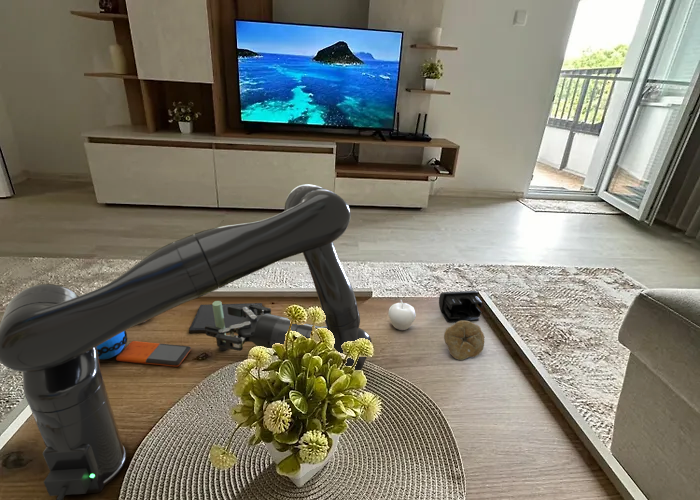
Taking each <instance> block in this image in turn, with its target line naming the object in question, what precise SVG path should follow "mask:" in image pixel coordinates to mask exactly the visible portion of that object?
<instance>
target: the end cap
mask: <svg viewBox="0 0 700 500" xmlns="http://www.w3.org/2000/svg"><path fill="white" fill-rule="evenodd" d="M438 306H439V310H440V312H441V315H442V316H443V318H444V319H445V321H446V322H447V323H448V324H449V323H450V324H451V323H453V324H454V323H456V322H458V321H470V322H478V321H479V319H480V318H479V317H481V314H482V311H481V310H480V308H481V309H482V308H483V302H482V300H481V299H480V298H479V292H478V291H477V290H462V291H460V290H459V291H443V292H441V293H440V294H439V296H438Z"/></svg>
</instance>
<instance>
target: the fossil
mask: <svg viewBox="0 0 700 500" xmlns="http://www.w3.org/2000/svg"><path fill="white" fill-rule="evenodd" d="M485 337H486V336H485V333H484V332H483V330H482V328H481V326H480V325H478V324H477V323H474V322H473V321H458V322H454V323H453V324H452V325H451V326H448V327H447V328H446V329H445V330H444V333H443V340H444V344H445V345H446V348H447V350H448V352H449V354H450V355H451V356H452V358H454V359H455V360H458V361H464V360H466V359H468V358H475V357H477V356H479V355H480V354H481V353H482V351H483V350H484V348H485V347H484V346H485Z"/></svg>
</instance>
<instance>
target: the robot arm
mask: <svg viewBox="0 0 700 500" xmlns="http://www.w3.org/2000/svg"><path fill="white" fill-rule="evenodd" d="M283 210H284V211H282V212H280V213H278V214H275V215H273V216H270V217H268V218H265V219H260V220H257V221H253V222H245V223H238V224H230V225H223V226H218V227H212V228H208V229H204V230H202V231H199V232H195V233H193V234H190V235H187V236H185V237H182V238H180V239H177V240H175V241H172V242H169V243H168V244H165V245H163V246H162V247H160V248H158V249H156V250H155V251H152V252H151V253H150V254H148V255H147V256H146V257H144V258H143V259H142V260H140V261H139V262H137V263H136V264H135V265H133V266H132V267H131V268H129V269H128V270H127V271H125V272H124V273H123V274H122V275H120V276H118V277H117V278H115V279H113V280H112V281H110V282H109V283H107V284H105V285H103V286H101V287H99V288H96V289H95V290H92V291H89V292H87V293H84V294H82V295H78V294H77V293H76V292H74V291H73V290H72V289H70V288H69V287H68V288H67V287H66V286H63V285H60V284H54V283H42V284H36V285H32V286H29V287H26V288H25V289H23V290H21V291H20V292H18V293H17V294H16V295H14V297H13V298H12V299H11V300H10V301H9V302H8V304H7V306H6V308H5V310H4V313H3V315H2V318H1V320H0V363H1V365H3V366H4V367H6V368H8V369H9V370H12V371H18V372H22V385H23V387H22V389H23V394H24V398H25V399H26V401H27V404H28V406H29V409H30V411H31V413H32V415H33V418H34V421H35V423H36V426H37V428H38V431H39V434H40V436H41V438H42V440H43V443H44V445H45V448H44V450H43V452H42V456H43V458H44V460H45V464H46V465H47V468H48V470H49V473H48V474H47V476H46V478H45V479H44V480H43V484H44V486H45V488H46V491H47V494H48V495H49V497H54V496H56V497H57V498H56V499H55V500H64V498H65V496H71V495H85V494H99V493H101V492H102V491H103V490H104V487H105V486H106V485H108V484H109V483H110V482H112V481H113V480H114V479H115V478H116V477H117V476H118V475H119V473H120V472H121V471H122V470H123V467H124V466H125V463H126V460H127V453H126V449H125V447H124V445H123V441H122V438H121V435H120V430H119V428H118V425H117V421H116V418H115V415H114V411H113V408H112V404H111V402H110V398H109V394H108V391H107V387H106V383H105V381H104V377H103V374H102V369H101V365H100V359H99V357H98V351H97V347H96V346H98V345H100V344H102V343H103V342H105V341H107V340H109V339H111V338H112V337H114V336H116V335H118V334H120V333H121V332H123V331H127V330H130V329H131V328H133V327H136V326H138V325H139V324H143V323H145V322H147V321H149V320H151V319H153V318H155V317H158V316H160V315H162V314H164V313H166V312H169V311H170V310H173V309H175V308H177V307H180V306H181V305H183V304H184V305H185V304H186V303H188V302H189V303H190V302H191V301H194V300H196V299H199V298H201V297H203V296H205V295H208V294H210V293H213V292H214V291H217V290H219V289H221V288H223V287H225V286H227V285H229V284H231V283H233V282H235V281H238V280H240V279H242V278H244V277H246V276H250V275H251V274H254V273H256V272H259V271H260V270H263V269H265V268H267V267H268V266H270V265H273V264H275V263H278V262H280V261H283V260H286V259H289V258H291V257H294V256H297V255H300V254H302V255H303V257H304V260H305V262H306V265H307V267H308V269H309V273H310V275H311V280H312V281H313V285H314V288H315V292H316V295H317V298H318V303H319V305H320V309H321V311H322V310H323V311H324V313H325V315H326V320H324V321H325V322H324V323H325V325H324V326H323V325H322V326H319V325H315V328H316V329H317V328H327V329H328V330H330V331H331V332H332V333H333V335H334V338H335V344H334V348H335V349H336V350H337V351H338V352H340V353H343V350H342V348H341V345H342V344H343V343H344V342H347V341H355V340H357V339H359V338H365V339H368V340H370V342H371V343H372V338H371V336H370V334H369V333H368V332H367V331H366V330H364V329H363V328H360V325H361V316H360V315H361V314H360V311H359V307H358V302H357V297H356V295H355V291H354V289H353V286H352V283H351V281H350V279H349V277H348V275H347V273H346V271H345V269H344V266H343V265H342V262H341V260H340V258H339V255H338V253H337V251H336V248H335V243H334V242H335V241H336V240H339V238H341V236H343V234H344V233H345V232H346V231H347V229H348V227H349V225H350V221H351V217H352V216H351V209H350V206H349V204H348V203H347V202H346V201H345V199H344V198H342V197H341V196H340V195H338V194H337V193H336V192H333V191H331V190H328V189H326V188H324V187H321V186H319V185H315V184H308V183H306V184H301V185H298V186H296V187H295V188H293V189H292V190H291V191H290V193H289V194H288V196H287V197H286V200H285V203H284V209H283ZM254 309H256V310H257V311H255V310H254ZM228 314H229V315H233V316H237V317H241V318H242V317H243V319H242V321H241V322H239V323H238V324H236V325H231V326H230V327H229V328H223V329H221V328H219V327H215V326H210V325H207V326H206V327H205V333H204V334H205V335H206V336H207V337H211V338H214V339H215V340H216V346H217V347H218V348H219V347H223V348H228V349H227V350H234V351H238V352H241V351H243V350H244V346H243V345H245V344H246V343H253V344H254V345H255V346H256V347H258V346H264V347H267V348H272V345H273V344H275V343H280V344H284V341H285V334H286V333H287V331H288V329H289V326H290V320H289V319H288V318H289V317H285V316H280V315H277V314H276V315H275V314H272V308H270V307H266V306H259V305H255V304H249V307H243V308H241V307H236V306H229V307H228ZM144 321H145V322H144ZM142 322H143V323H142ZM313 325H314V324H310V323H306V324H304V325H297V324H292V326H291V330H292V331H296V332H299V333H300V334H302V335H303V336H305V337H306V338H310V334H311V331H312V326H313ZM234 330H237V332H236V334H237V335H235V332H234ZM225 333H226V335H225ZM227 333H228V334H227ZM223 341H225V342H223ZM367 358H368V356H367V357H359V359H358V361H357V364H356V366H355V370H361V371H362V369H363V368H364V366H365V364H366V360H367ZM353 363H354V360H353V359H351V358H348V359H347V363H346V364H345V365H346V366H352V365H353Z"/></svg>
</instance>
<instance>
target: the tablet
mask: <svg viewBox="0 0 700 500" xmlns="http://www.w3.org/2000/svg"><path fill="white" fill-rule="evenodd" d="M212 304H213V303H212ZM212 304H209V303H208V304H200V305H199V307H198V309H197V312H196V314H195V316H194V317H193V320H192V322H191V324H190V327H189V329H188V332H189V334H206V333H205V327H206V326H207V325H210V326H215V327H216V324H215V318H214V312H213V305H212ZM249 304H255V305H259V306H263V302H249V303H245V302H244V303H222V309H223V316H224V323H225V328H229V327H230V326H231V325H236V324H238V323H239V322H241V321H242V319H243V317H242V318H241V317H237V316H233V315H229V314H228V307H229V306H236V307H241V308H243V307H249ZM263 307H264V306H263ZM254 310H255V311H257V310H256V309H254ZM234 333H237V330H234Z"/></svg>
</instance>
